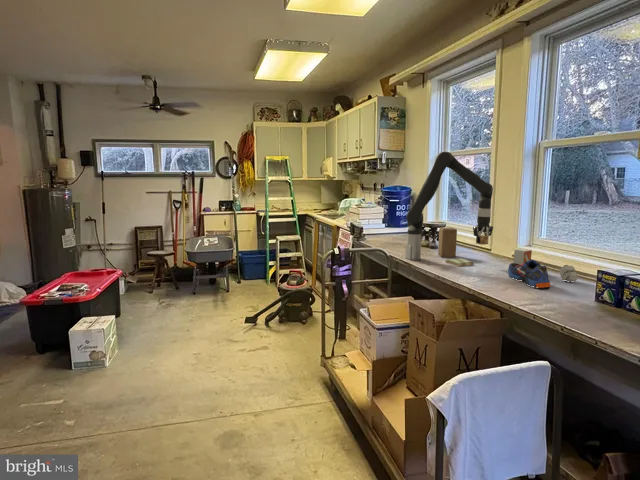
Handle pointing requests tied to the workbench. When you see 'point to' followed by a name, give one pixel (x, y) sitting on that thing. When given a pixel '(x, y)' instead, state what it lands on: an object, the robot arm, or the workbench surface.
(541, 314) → the workbench surface
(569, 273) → the beige lumpy piece
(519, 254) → the small box
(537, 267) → the running shoe
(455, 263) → the pad
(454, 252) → the wooden block
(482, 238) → the oak cube
